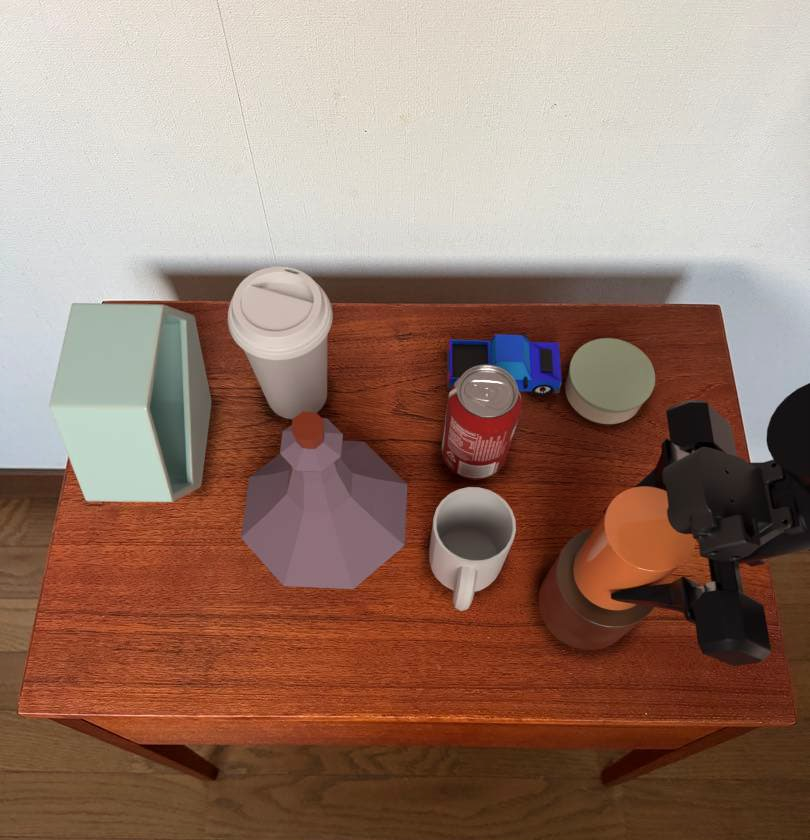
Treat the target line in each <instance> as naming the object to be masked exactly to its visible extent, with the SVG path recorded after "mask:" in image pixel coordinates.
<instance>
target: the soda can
mask: <svg viewBox="0 0 810 840" xmlns="http://www.w3.org/2000/svg"><path fill="white" fill-rule="evenodd" d="M522 406H523V399H522V395H521V391H519V390H518V387H517V384H516V381H515V380H514V378H513V377H512V376H511V375H510V374H509V373H508V372H507V371H505V370H504V369H502V368H500V367H497V366H493V365H479V366H475V367H472V368H470V369H469V370H467V371H466V372H465V373H464V374H463V375H462V376H461V377H460V378H459V379H458V380H457V381H456V382H455V383H454V384H453V386H452V388H451V390H449V393H448V397H447V406H446V412H445V413H446V414H445V420H444V426H443V427H444V428H443V434H442V443H441V456H442V459H443V462H444V463H445V465H446V466H447V468H448V469H449V470H450V471H451V472H452V473H454V474H455V475H457V476H458V477H461V478H463V479H466V480H472V481H481V480H485V479H489V478H490V477H493V476H494V475H496V474H498V473H499V472H500V470H501V469H502V468H503V467H504V465H505V463H506V460H507V458H508V454H509V450H510V447H511V444H512V440H513V438H514V435H515V432H516V429H517V425H518V422H519V419H520V416H521V413H522Z"/></svg>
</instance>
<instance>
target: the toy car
mask: <svg viewBox="0 0 810 840" xmlns="http://www.w3.org/2000/svg"><path fill="white" fill-rule="evenodd" d="M526 336H527V335H526V331H522V332H521V334H494V335H493V336H492V338H491V339H490V340H479V339H450V338H449V339H448V340H449V341H447V347H446V391H450V390H451V388H452V386H453V384H454V383H455V382H456V381H457V380H458V379H459V378H460V377H461V376H462V375H463V374H464V373H465V372H466V371H467V370H469V369H470V368H472V367H475V366H479V365H493V366H497V367H500V368H502V369H504V370H505V371H507V372H508V373H509V374H510V375H511V376H512V377H513V378H514V380H515V381H516V384H517V387H518V390H519V392H532V394H533V395H534V396H537V397H547V396H550V395H552V393H553V394H560V392H561V386H562V369H561V355H560V342H549V341H545V342H544V341H530V340H529V339H528V338H527V337H526Z"/></svg>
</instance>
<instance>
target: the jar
mask: <svg viewBox="0 0 810 840" xmlns="http://www.w3.org/2000/svg"><path fill="white" fill-rule="evenodd" d="M655 385H656V373H655V369H654V365H653V364H652V362H651V360H650V359H649V357H648V356H647V354H645V352H643V351H642V350H641V349H640V348H638V347H637V346H636V345H634V344H632V343H630V342H628V341H626V340H623V339H619V338H612V337H604V338H602V337H601V338H596V339H593V340H591V341H588V342H586V343H584V344H582V345H581V346H580V347H579V348H578V349H577V350H575V353H574V354H573V355H572V358H571V360H570V362H569V366H568V373H567V375H566V378H565V383H564V390H565V391H564V392H565V395H566V399H567V400H568V403H569V405H570V406H571V407H572V408H573V410H575V412H576V413H578V414H579V415H580V416H582V417H583V418H585V419H586V420H588V421H591V422H594V423H596V424H601V425H616V424H620V423H624V422H626V421H628V420H630V419H632V418H633V417H635V416H636V415H637V413H638V412H639V411H640V409H641V408H642V406H643V404H645V403H646V402H647V401H648V399H649V398H650V396H652V393H653V391H654V389H655Z"/></svg>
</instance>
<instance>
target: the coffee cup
mask: <svg viewBox="0 0 810 840" xmlns="http://www.w3.org/2000/svg"><path fill="white" fill-rule="evenodd" d="M333 317H334V314H333V307H332V303H331V301H330V299H329V296H328V295H327V294H326V291H325V290H324V289H323V288H322V287H321V286H320V285H319V284H318V283H317V282H316V281H315V280H314V279H313V278H312V277H311V276H310V275H309V274H307V273H305V272H303V271H301V270H300V269H298V268H294V267H290V266H282V265H281V266H279V265H278V266H268V267H265V268H262V269H258V270H256V271H254V272H252V273H251V274H249V275H247V276H246V277H245V278H244V279H243V280H242V281H241V282H240V283H239V284H238V286H237V287H236V289H235V291H234V294H233V296H232V298H231V300H230V303H229V306H228V311H227V327H228V331H229V333H230V336H231V338H232V339H233V340H234V342H235V343H236V344H237V345H238V346H239V347H240V348H241V349H242V350H243V351H244V354H245V356H246V358H247V360H248V362H249V364H250V367H251V369H252V371H253V373H254V375H255V377H256V379H257V383H258V384H259V386H260V389H261V390H262V393H263V395H264V397H265V399H266V401H267V404H268V406H269V408H270V409H271V410H272V411H273V412H274V413H275V414H276V415H277V416H280V417H281V418H283V419H287V420H291V421H292V420H293V419H294V418H295V417H296V416H298V415H299V414H300V413H302V412H316V413H317V414H318V412H319V411H320V410H321V409H322V408H323V407H324V405H325V404H326V401H327V398H328V334H329V333H330V330H331V327H332V324H333Z"/></svg>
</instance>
